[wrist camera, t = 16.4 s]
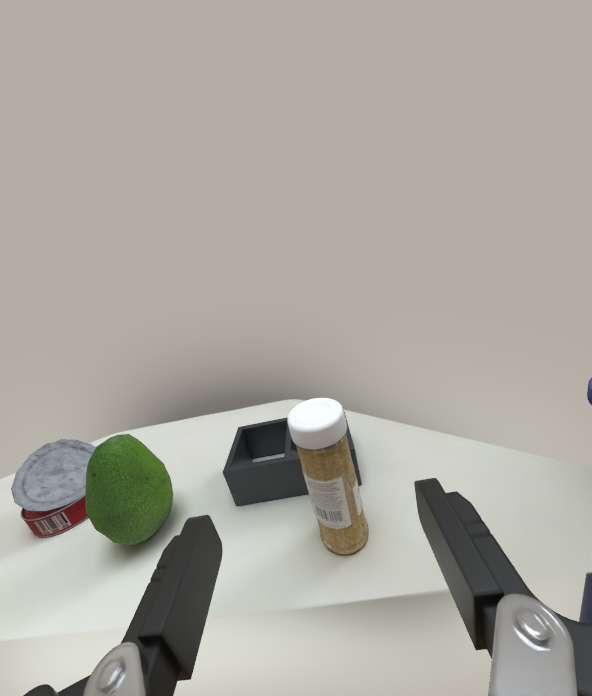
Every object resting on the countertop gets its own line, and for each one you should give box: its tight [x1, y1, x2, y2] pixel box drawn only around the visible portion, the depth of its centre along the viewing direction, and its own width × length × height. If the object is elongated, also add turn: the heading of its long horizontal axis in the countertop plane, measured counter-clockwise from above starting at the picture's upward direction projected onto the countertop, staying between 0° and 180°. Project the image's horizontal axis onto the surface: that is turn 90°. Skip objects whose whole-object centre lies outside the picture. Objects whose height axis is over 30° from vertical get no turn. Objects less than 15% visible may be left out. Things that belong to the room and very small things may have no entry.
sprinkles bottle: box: [287, 398, 368, 554], centre depth 24 cm, size 5×5×13 cm
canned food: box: [11, 440, 96, 537], centre depth 38 cm, size 11×10×10 cm
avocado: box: [85, 434, 173, 545], centre depth 30 cm, size 8×8×12 cm
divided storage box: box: [223, 409, 362, 506], centre depth 35 cm, size 14×8×5 cm, turn 90°
